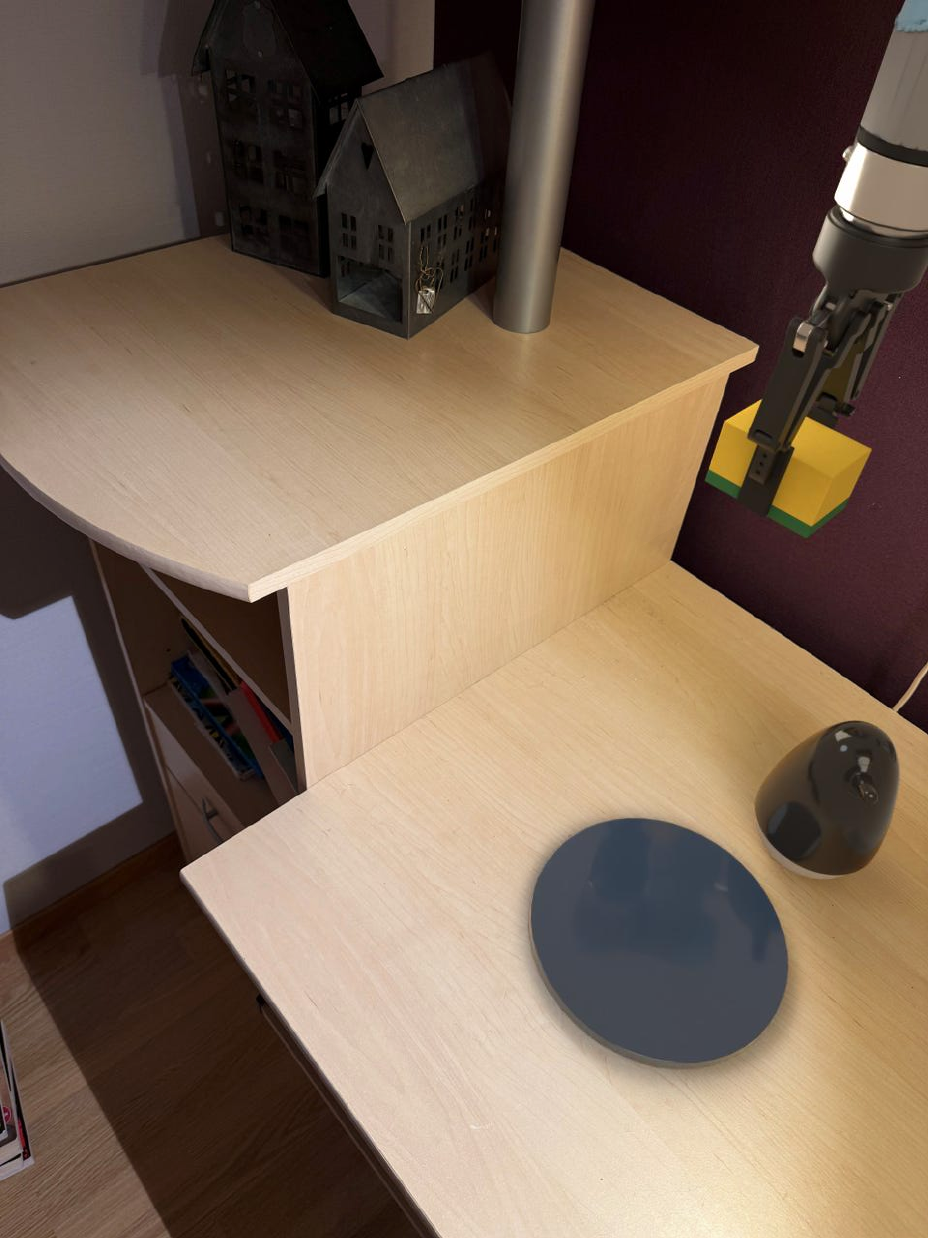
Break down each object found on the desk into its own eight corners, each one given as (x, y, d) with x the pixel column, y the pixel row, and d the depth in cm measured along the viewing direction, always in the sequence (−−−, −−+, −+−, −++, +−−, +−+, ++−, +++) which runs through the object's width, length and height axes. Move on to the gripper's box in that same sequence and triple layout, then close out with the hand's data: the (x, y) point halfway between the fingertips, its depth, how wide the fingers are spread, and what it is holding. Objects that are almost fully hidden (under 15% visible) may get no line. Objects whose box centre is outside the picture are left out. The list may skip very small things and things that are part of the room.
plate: (752, 832, 79) (756, 825, 78) (812, 1076, 64) (818, 1070, 64) (524, 818, 78) (526, 810, 77) (533, 1062, 63) (536, 1056, 63)
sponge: (844, 508, 77) (872, 448, 73) (806, 538, 74) (833, 477, 69) (744, 454, 82) (766, 396, 78) (704, 480, 78) (724, 420, 74)
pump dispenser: (740, 882, 75) (804, 773, 65) (742, 783, 83) (800, 670, 72) (865, 915, 74) (951, 809, 64) (855, 811, 81) (932, 701, 71)
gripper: (898, 174, 69) (793, 434, 85) (763, 227, 58) (672, 513, 74) (995, 207, 65) (866, 471, 81) (870, 270, 54) (750, 561, 70)
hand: (774, 491), depth 78 cm, fingers closed on sponge, 6 cm apart
